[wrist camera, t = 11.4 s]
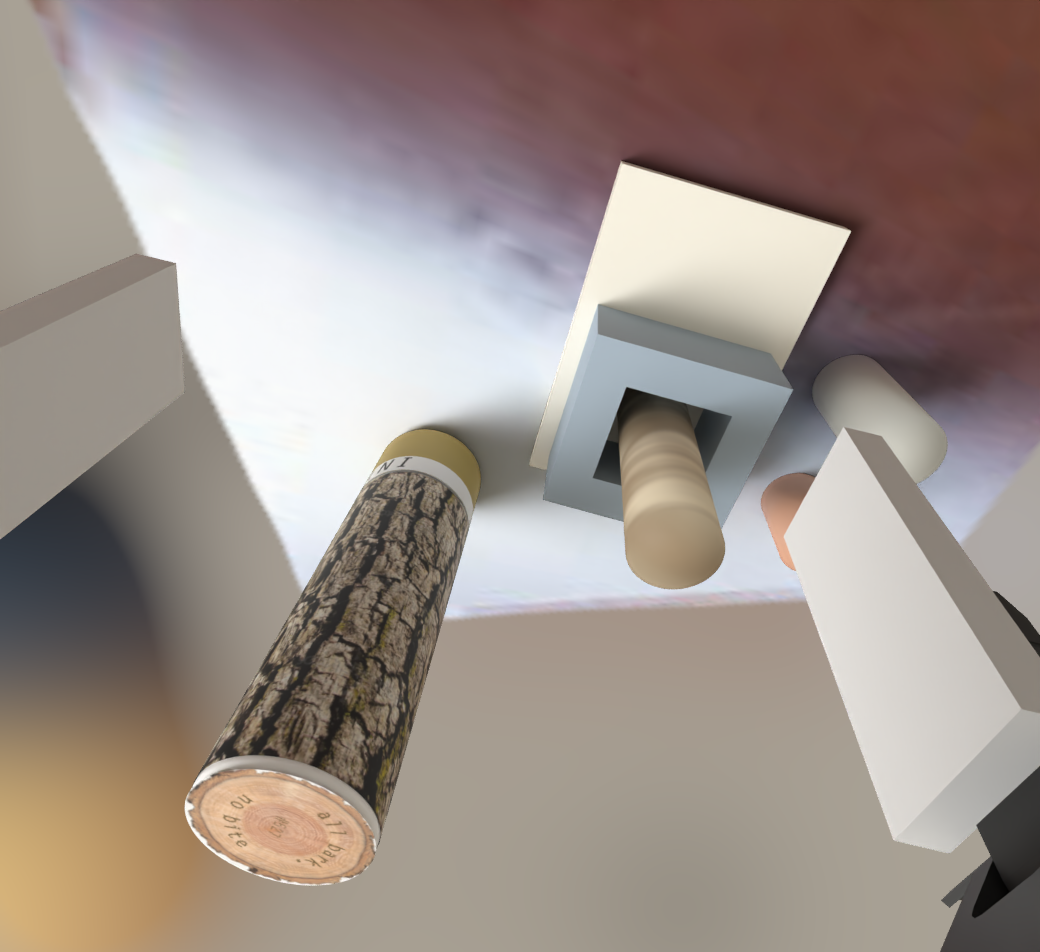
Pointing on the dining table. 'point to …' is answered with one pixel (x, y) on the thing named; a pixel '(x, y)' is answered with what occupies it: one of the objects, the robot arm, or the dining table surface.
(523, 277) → the dining table surface
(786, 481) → the short dowel
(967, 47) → the dining table surface
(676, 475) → the long dowel
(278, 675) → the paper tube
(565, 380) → the socket board
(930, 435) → the medium dowel
